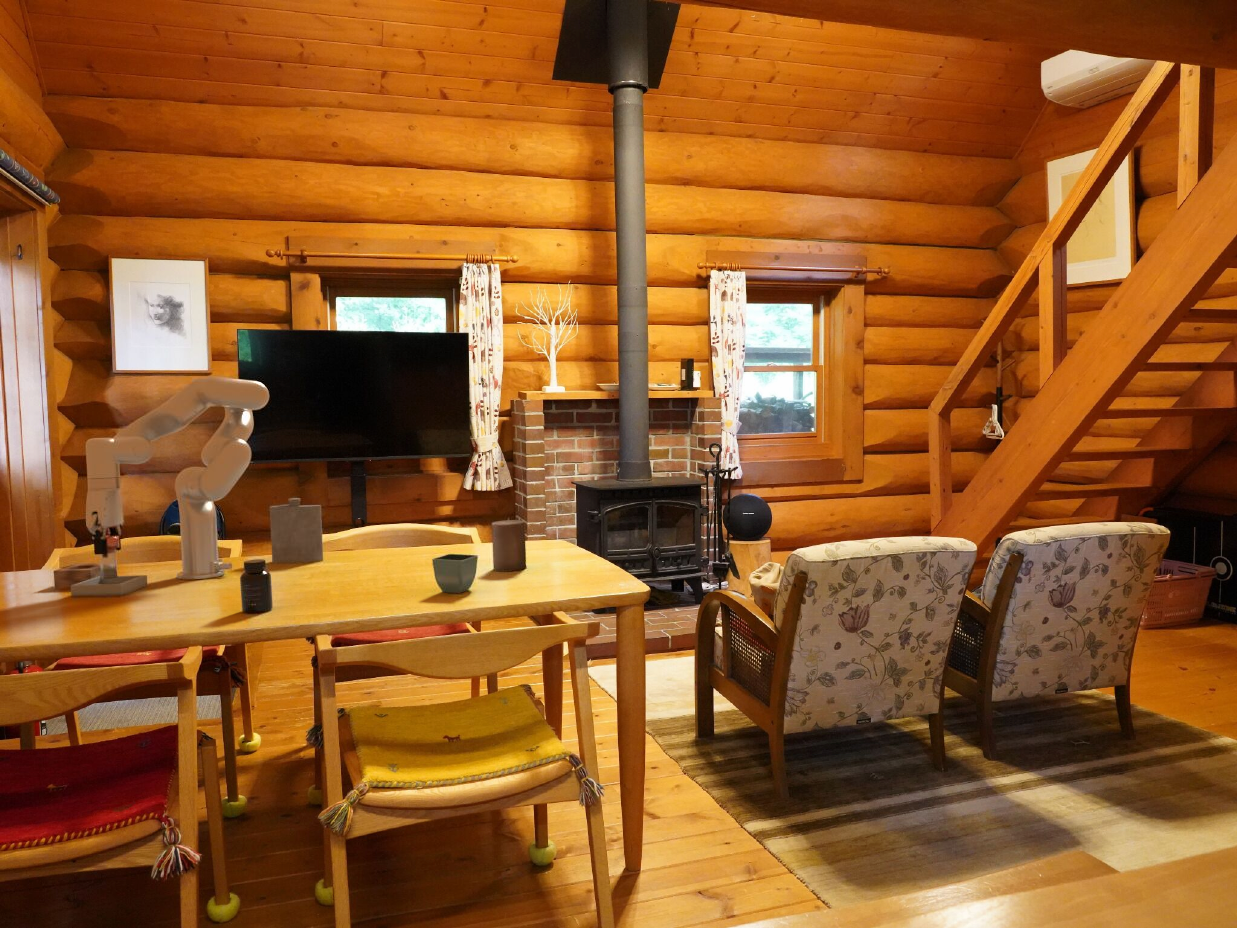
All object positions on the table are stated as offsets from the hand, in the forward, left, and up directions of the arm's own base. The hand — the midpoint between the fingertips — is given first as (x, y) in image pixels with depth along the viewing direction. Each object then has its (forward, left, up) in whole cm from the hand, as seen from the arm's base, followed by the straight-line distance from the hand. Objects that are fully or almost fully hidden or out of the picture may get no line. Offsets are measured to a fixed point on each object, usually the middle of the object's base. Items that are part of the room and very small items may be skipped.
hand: (107, 551), depth 239 cm
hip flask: (-35, -42, -11) cm, 56 cm away
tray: (0, 0, -11) cm, 11 cm away
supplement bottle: (-50, +27, -11) cm, 58 cm away
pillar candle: (-104, -22, -11) cm, 107 cm away
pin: (0, 0, -7) cm, 7 cm away
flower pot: (-94, +9, -11) cm, 95 cm away
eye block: (+13, -10, -11) cm, 20 cm away
